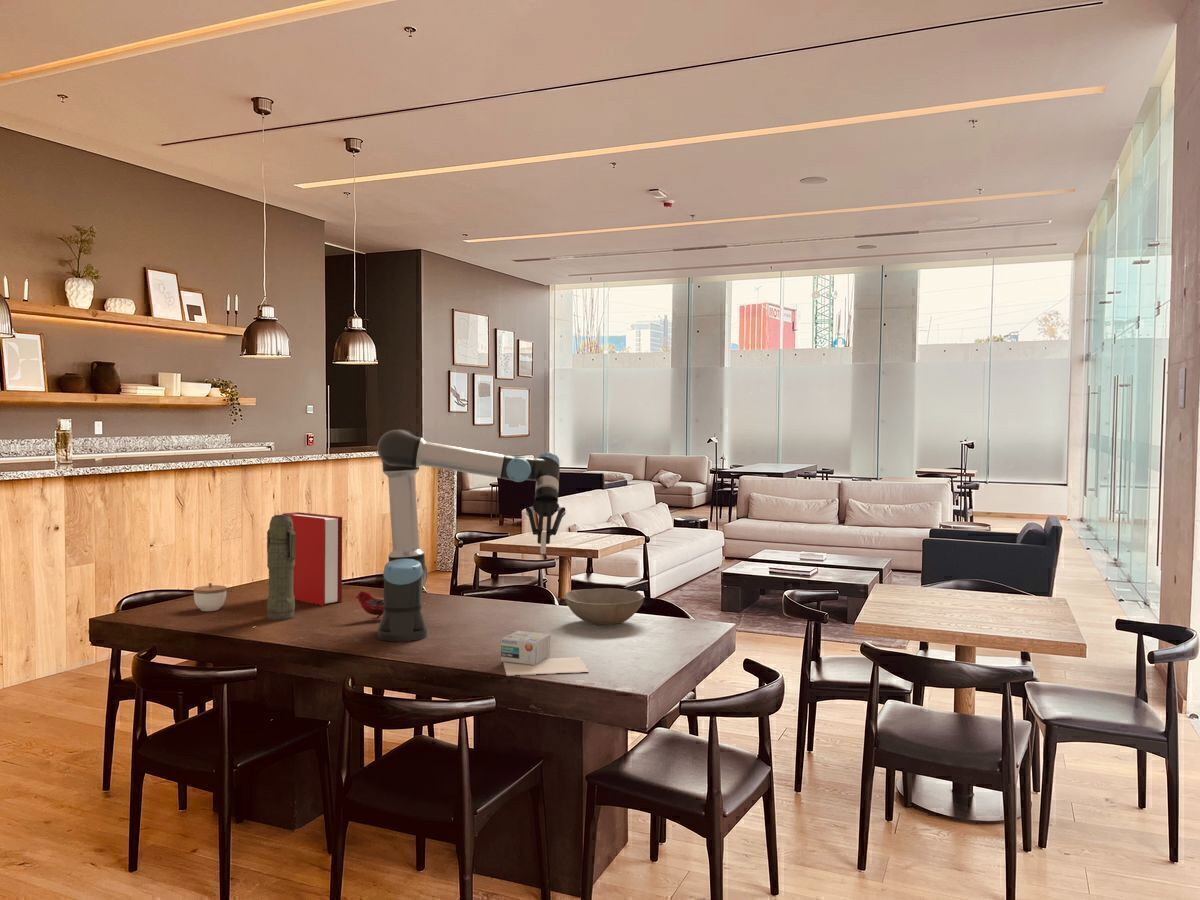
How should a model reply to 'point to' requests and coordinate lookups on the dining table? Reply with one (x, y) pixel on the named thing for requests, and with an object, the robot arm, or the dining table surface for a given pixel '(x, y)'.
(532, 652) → the light bulb box
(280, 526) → the stone statue
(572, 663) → the mat
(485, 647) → the dining table surface
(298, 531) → the book
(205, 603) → the lidded jar
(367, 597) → the decorative bird figurine
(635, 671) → the dining table surface
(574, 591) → the bowl
